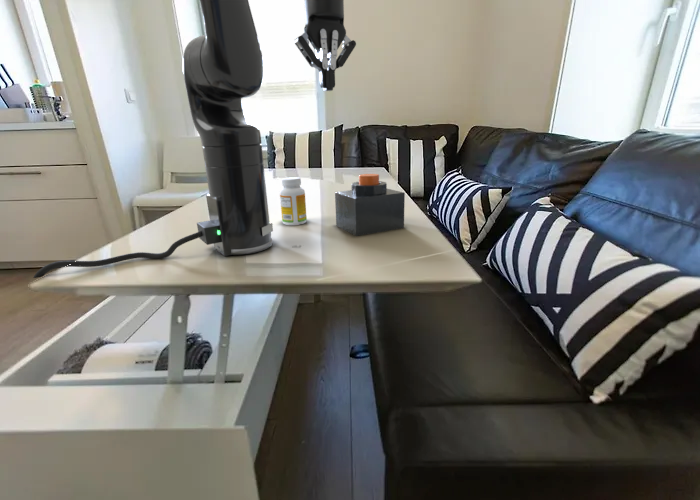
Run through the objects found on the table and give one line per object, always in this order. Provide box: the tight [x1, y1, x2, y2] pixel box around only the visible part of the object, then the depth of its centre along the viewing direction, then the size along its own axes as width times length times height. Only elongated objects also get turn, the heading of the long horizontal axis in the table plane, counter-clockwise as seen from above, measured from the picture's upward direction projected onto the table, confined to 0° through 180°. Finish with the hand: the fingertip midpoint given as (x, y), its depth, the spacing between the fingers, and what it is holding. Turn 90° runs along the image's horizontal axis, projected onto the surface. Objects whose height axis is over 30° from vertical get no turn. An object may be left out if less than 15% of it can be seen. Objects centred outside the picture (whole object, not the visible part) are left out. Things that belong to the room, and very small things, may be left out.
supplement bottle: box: [279, 176, 308, 226], centre depth 78 cm, size 5×5×10 cm
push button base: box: [334, 180, 406, 237], centre depth 72 cm, size 11×9×9 cm
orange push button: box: [358, 173, 380, 185], centre depth 71 cm, size 4×4×2 cm
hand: (327, 90), depth 74 cm, fingers closed
